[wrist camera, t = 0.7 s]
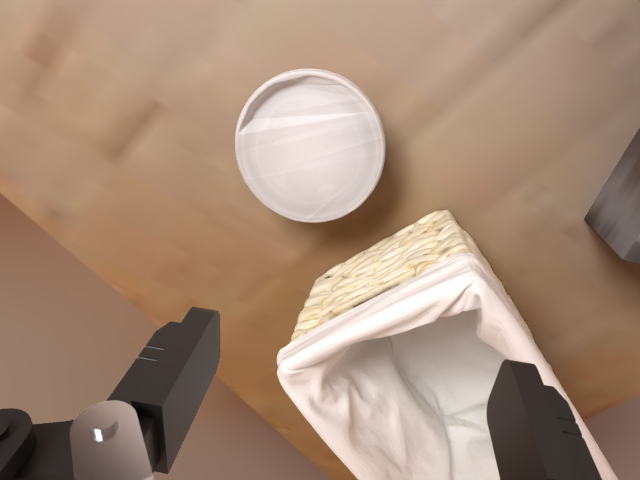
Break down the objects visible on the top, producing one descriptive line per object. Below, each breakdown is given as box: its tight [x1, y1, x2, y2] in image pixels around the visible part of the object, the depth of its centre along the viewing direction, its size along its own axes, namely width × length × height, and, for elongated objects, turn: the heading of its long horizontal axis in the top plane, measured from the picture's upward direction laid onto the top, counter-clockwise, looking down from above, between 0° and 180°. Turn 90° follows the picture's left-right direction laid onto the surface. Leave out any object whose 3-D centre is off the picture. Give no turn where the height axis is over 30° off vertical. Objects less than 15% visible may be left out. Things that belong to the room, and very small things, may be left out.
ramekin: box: [235, 69, 386, 223], centre depth 36 cm, size 11×11×5 cm
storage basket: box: [277, 210, 618, 480], centre depth 38 cm, size 24×16×15 cm
